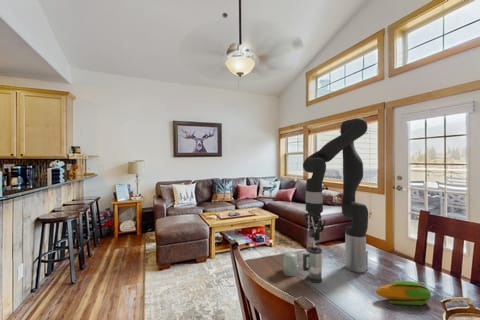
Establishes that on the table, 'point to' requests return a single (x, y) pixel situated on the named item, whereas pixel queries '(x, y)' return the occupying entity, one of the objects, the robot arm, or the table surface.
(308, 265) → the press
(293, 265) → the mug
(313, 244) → the plunger
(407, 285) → the corn
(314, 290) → the table surface
